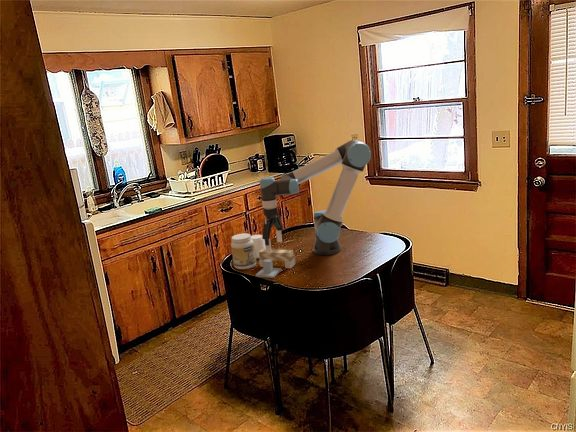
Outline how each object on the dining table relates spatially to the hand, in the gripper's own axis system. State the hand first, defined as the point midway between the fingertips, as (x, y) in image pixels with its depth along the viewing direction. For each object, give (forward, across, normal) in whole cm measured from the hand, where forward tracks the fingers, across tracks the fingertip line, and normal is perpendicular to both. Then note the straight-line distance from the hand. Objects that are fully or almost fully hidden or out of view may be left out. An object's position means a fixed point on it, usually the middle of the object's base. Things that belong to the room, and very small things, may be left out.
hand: (274, 246), depth 245 cm
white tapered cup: (+11, -11, -16) cm, 22 cm away
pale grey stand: (+11, +11, 0) cm, 15 cm away
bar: (+7, 0, 0) cm, 7 cm away
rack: (+11, 0, 0) cm, 11 cm away
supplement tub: (+11, +3, -18) cm, 21 cm away
